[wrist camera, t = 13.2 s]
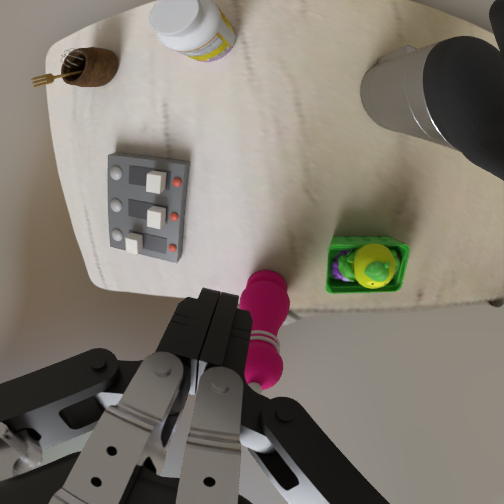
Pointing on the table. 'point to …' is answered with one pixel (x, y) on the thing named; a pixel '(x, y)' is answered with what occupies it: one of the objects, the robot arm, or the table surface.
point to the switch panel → (146, 203)
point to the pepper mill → (264, 327)
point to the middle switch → (156, 217)
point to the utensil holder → (85, 68)
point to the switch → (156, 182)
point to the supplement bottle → (193, 28)
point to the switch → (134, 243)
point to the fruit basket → (366, 264)
